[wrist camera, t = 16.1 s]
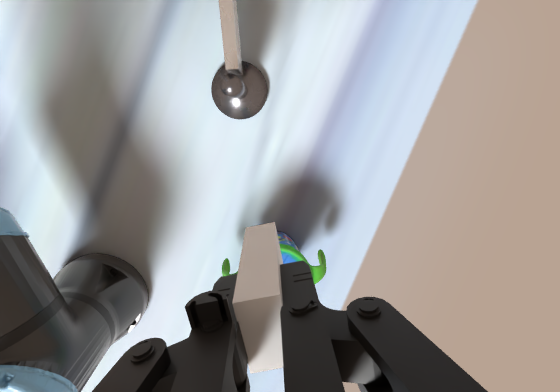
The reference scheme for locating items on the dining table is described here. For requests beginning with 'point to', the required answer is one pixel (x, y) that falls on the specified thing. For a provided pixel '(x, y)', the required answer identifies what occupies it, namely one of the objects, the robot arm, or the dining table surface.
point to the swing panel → (231, 36)
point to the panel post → (239, 92)
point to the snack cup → (290, 258)
